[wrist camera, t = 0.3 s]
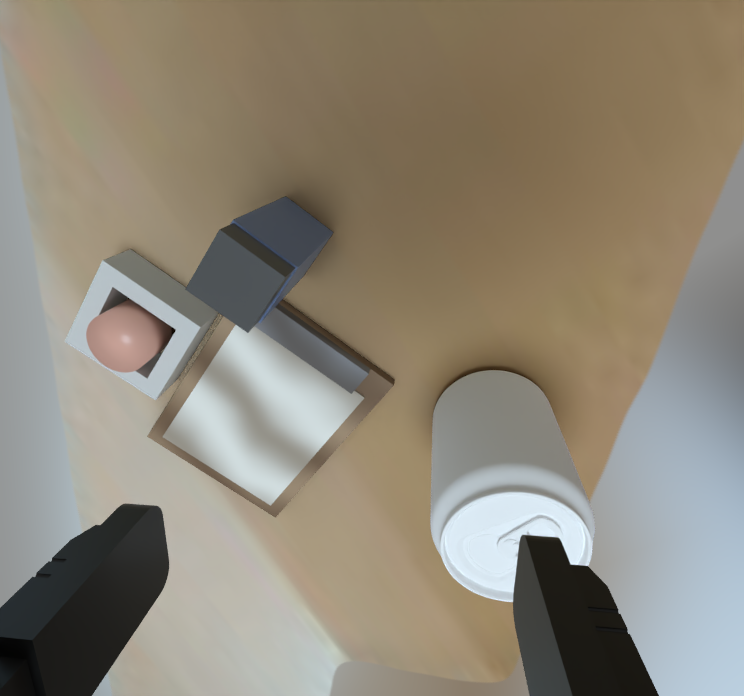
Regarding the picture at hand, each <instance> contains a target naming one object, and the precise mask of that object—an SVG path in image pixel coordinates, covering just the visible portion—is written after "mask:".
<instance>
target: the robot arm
mask: <svg viewBox="0 0 744 696" xmlns="http://www.w3.org/2000/svg"><path fill="white" fill-rule="evenodd" d="M168 571H169V557H168V550H167V543H166V535H165V528H164V521H163V514H162V511H161V509H160V508H159V507H158V506H151V505H137V504H123V505H121V506H120V507H118V508H117V509H116V510H115V511H114V512H113V513H112V514H111V515H110V516H109V517H108V518H107V519H106V520H105V521H104V522H103V523H102V524H101V525H95V526H93V527H92V528H90V529H88V530H87V531H85V532H83V533H82V534H80V535H78V536H77V537H75V538H73V539H72V540H70V541H69V542H68V543H67V544H66V545H65V546H64V547H63V548H62V549H61V550H60V551H59V552H58V553H57V554H56V555H55V556H54V557H53V558H52V561H51V562H48V563H46V564H45V565H44V566H43V567H42V568H41V569H40V570H39V571H38V572H37V574H36V577H32V578H31V579H30V580H29V581H28V582H27V583H26V584H25V585H24V586H23V587H22V588H21V589H19V590H18V591H17V592H16V593H15V594H14V595H13V596H12V597H11V598H10V599H9V600H8V601H7V602H6V603H5V604H4V605H3V606H2V607H1V608H0V696H92V695H93V693H94V692H95V690H96V689H97V687H98V686H99V684H100V682H101V681H102V680H103V678H104V676H105V675H106V674H107V672H108V671H109V669H110V668H111V666H112V665H113V663H114V662H115V660H116V659H117V657H118V656H119V654H120V653H121V651H122V650H123V648H124V647H125V645H126V644H127V642H128V641H129V639H130V638H131V636H132V635H133V633H134V632H135V631H136V629H137V628H138V626H139V625H140V623H141V622H142V620H143V619H144V617H145V616H146V614H147V613H148V611H149V610H150V608H151V607H152V605H153V604H154V602H155V601H156V599H157V598H158V596H159V595H160V593H161V592H162V590H163V588H164V585H165V583H166V580H167V576H168ZM513 613H514V622H515V628H516V633H517V638H518V642H519V647H520V652H521V657H522V661H523V666H524V671H525V676H526V680H527V685H528V690H529V694H530V696H659V695H658V693H657V691H656V689H655V687H654V684H653V683H652V680H651V678H650V676H649V674H648V672H647V670H646V667H645V665H644V663H643V661H642V659H641V657H640V655H639V653H638V650H637V648H636V646H635V644H634V642H633V640H632V638H631V636H630V634H628V632H627V627H626V625H625V623H624V621H623V619H622V617H621V614H619V613H618V608H617V606H616V604H615V602H614V599H613V597H612V595H611V593H610V591H609V589H608V587H607V585H606V584H605V583H604V582H603V581H602V580H601V579H600V578H599V577H598V576H597V575H596V574H595V573H594V572H593V571H592V570H591V569H590V568H589V567H588V566H583V565H571V564H570V562H569V559H568V557H567V554H566V552H565V549H564V547H563V544H562V542H561V540H560V539H559V538H558V537H547V536H534V535H522V536H521V538H520V542H519V550H518V559H517V567H516V576H515V584H514V593H513Z"/></svg>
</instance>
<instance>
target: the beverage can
mask: <svg viewBox="0 0 744 696" xmlns="http://www.w3.org/2000/svg"><path fill="white" fill-rule="evenodd" d="M430 523H431V533H432V537H433V541H434V543H435V546H436V548H437V550H438V552H439V553H440V555H441V557H442V560H443V562H444V565H445V566H446V568H447V570H448V571H449V573H450V574H451V575H452V576H453V578H454V579H455V580H456V581H458V582H459V583H460V584H461V585H463V586H464V587H465V588H467V589H469V590H470V591H472V592H474V593H476V594H479V595H481V596H484V597H487V598H490V599H494V600H499V601H506V602H513V593H514V584H515V576H516V567H517V559H518V550H519V542H520V538H521V536H522V535H534V536H547V537H558V538H559V539H560V540H561V542H562V544H563V547H564V549H565V552H566V554H567V557H568V559H569V562H570V564H571V565H583V566H588V565H589V563H590V560H591V556H592V543H593V539H594V533H595V520H594V515H593V511H592V508H591V505H590V503H589V500H588V498H587V495H586V493H585V490H584V488H583V485H582V483H581V480H580V478H579V475H578V473H577V470H576V468H575V465H574V463H573V460H572V458H571V455H570V453H569V450H568V448H567V445H566V443H565V440H564V438H563V435H562V433H561V430H560V428H559V425H558V423H557V420H556V418H555V415H554V413H553V410H552V408H551V406H550V403H549V401H548V399H547V397H546V396H545V394H544V393H543V392H542V390H541V389H540V388H539V387H538V386H537V385H535V384H534V383H533V382H531V381H530V380H528V379H527V378H525V377H523V376H520V375H518V374H515V373H512V372H507V371H501V370H487V371H480V372H476V373H472V374H469V375H467V376H464V377H462V378H460V379H459V380H457V381H456V382H454V383H453V384H451V385H450V386H449V387H448V388H447V389H446V390H445V391H444V392H443V394H442V395H441V396H440V398H439V400H438V401H437V403H436V406H435V409H434V413H433V425H432V472H431V520H430Z"/></svg>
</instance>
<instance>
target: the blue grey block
mask: <svg viewBox="0 0 744 696" xmlns="http://www.w3.org/2000/svg"><path fill="white" fill-rule="evenodd" d="M333 233H334V232H332V231H331V230H330V229H328V228H327V227H326V226H324V225H323V224H322V223H320V222H319V221H318V220H316V219H315V218H314V217H312V216H311V215H310V214H308V213H307V212H306V211H304V210H303V209H302V208H301V207H299V206H298V205H297V204H295V203H294V202H293V201H291V200H290V199H289V198H287V197H286V196H285V197H283V198H281V199H279V200H276V201H274V202H272V203H270V204H267V205H265V206H263V207H261V208H258V209H256V210H254V211H252V212H250V213H247V214H245V215H243V216H241V217H238V218H236V219H234V220H233V221H232V223H231V224H230V225H228V226H226V227H224V228H222V229H220V230H219V231H218V233H217V235H216V237H215V238H214V240H213V242H212V244H211V245H210V247H209V249H208V251H207V252H206V254H205V256H204V258H203V259H202V261H201V263H200V265H199V266H198V268H197V270H196V272H195V273H194V275H193V277H192V279H191V280H190V282H189V284H188V286H187V287H186V289H185V290H187V291H188V292H189V293H191V294H192V295H194V296H195V297H197V298H198V299H200V300H201V301H202V302H204V303H205V304H207V305H208V306H210V307H211V308H212V309H214V310H215V311H217V312H218V313H220V314H221V315H223V316H224V317H225V318H227V319H228V320H230V321H231V322H233V323H234V324H236V325H237V326H238V327H240V328H241V329H243V330H244V331H246V332H247V333H249V332H250V330H251V329H252V328H253V327H254V326H255V325H256V324H257V323H258V322H259V323H261V322H262V321H263V320H264V319H265V318H266V317H267V315H268V314H269V313H270V312H271V311H272V310H273V309H274V308H275V307H276V306H277V305H278V303H279V302H280V301H281V300H282V299H283V298H284V297H285V296H286V295H287V294H288V293H289V291H290V290H291V289H292V288H293V287H294V286H295V285H296V284H297V283H298V282H299V281H300V279H301V278H302V277H303V276H304V275H305V273H306V272H307V270H308V269H309V267H310V266H311V264H312V263H313V262H314V260H315V259H316V257H317V256H318V254H319V253H320V251H321V250H322V249H323V247H324V246H325V244H326V243H327V241H328V240H329V238H330V237H331V236H332V234H333Z"/></svg>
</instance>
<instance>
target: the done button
mask: <svg viewBox="0 0 744 696" xmlns="http://www.w3.org/2000/svg"><path fill="white" fill-rule="evenodd" d="M171 335H172V330H171V326H170V325H168V324H167V323H165V322H164V321H162V320H161V319H159V318H158V317H156V316H155V315H153V314H152V313H150V312H149V311H148V310H146V309H145V308H143V307H142V306H140V305H139V304H137V303H136V302H134V301H133V300H131V299H128V300H126V301H124V302H122V303H120V304H119V305H117V306H115V307H113V308H111V309H110V310H108V311H106V312H104V313H102V314H100V315H99V316H97V317H95V318H94V319H93V320H92V321H91V322H90V323H89V325H88V327H87V331H86V339H87V343H88V346H89V348H90V350H91V352H92V354H93V355H94V356H95V358H96V359H97V360H98V361H99V362H100V363H102V364H103V365H104V366H106V367H108V368H109V369H112V370H114V371H118V372H124V373H126V372H133V371H136V370H138V369H139V368H141V367H142V366H143V365H144V364H146V363H147V362H148V361H149V360H151V359H152V358H153V357H154V356H156V355H157V354H158V353H159V352H161V351H162V350H163V349H164V348H165V347H166V346H167V345H168V343H169V341H170V339H171Z"/></svg>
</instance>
